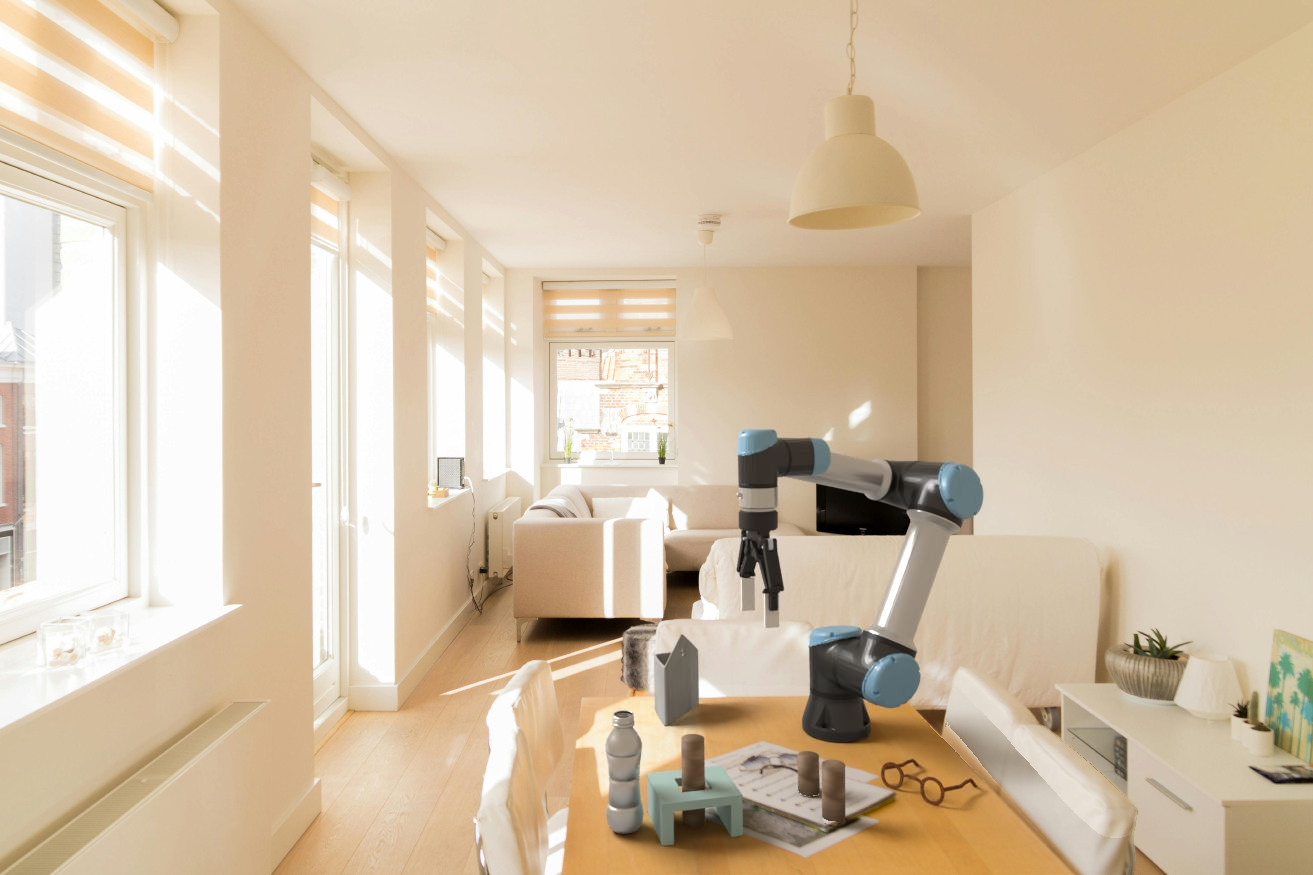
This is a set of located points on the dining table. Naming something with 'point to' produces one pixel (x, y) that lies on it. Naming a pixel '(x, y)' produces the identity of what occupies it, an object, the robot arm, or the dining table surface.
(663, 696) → the planter
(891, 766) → the glasses
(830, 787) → the pin medium
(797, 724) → the dining table surface
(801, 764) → the pin short
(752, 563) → the robot arm
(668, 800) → the bridge
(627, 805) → the plastic bottle
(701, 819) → the pin long
